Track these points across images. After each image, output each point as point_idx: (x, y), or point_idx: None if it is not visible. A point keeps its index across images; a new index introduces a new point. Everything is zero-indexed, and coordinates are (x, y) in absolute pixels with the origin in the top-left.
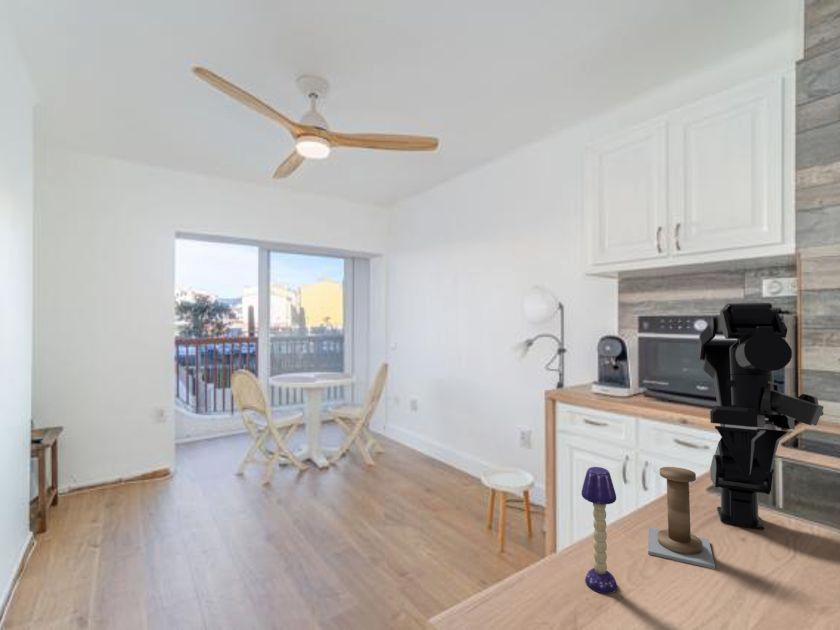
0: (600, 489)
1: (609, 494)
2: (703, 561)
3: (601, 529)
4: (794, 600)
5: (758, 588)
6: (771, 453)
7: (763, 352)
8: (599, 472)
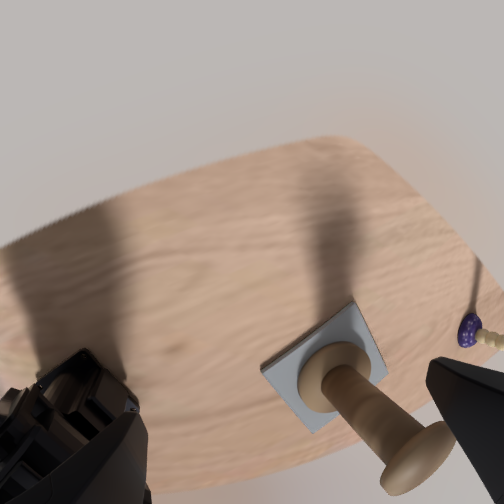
0: None
1: None
2: (356, 320)
3: None
4: (337, 182)
5: (351, 231)
6: (99, 484)
7: None
8: None
